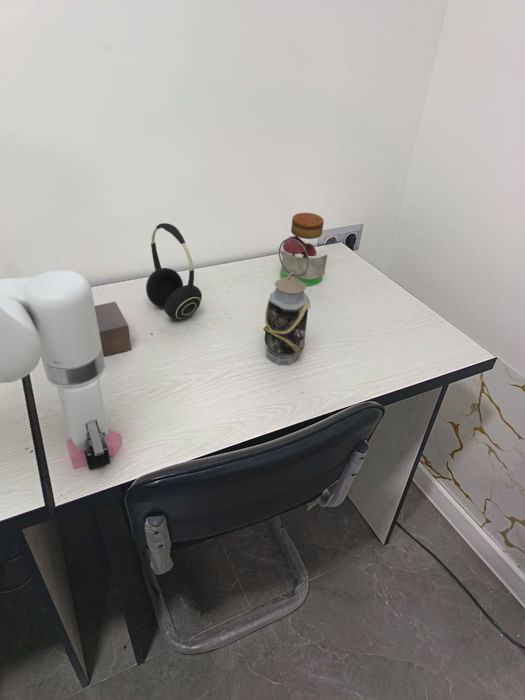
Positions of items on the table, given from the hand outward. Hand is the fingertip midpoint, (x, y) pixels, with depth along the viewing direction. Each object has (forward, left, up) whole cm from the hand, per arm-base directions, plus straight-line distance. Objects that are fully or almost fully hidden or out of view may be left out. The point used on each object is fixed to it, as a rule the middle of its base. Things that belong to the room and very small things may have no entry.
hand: (94, 450), depth 76 cm
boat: (0, 0, 0) cm, 0 cm away
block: (+8, +27, 0) cm, 28 cm away
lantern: (+39, +9, -1) cm, 40 cm away
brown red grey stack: (+59, +35, -1) cm, 69 cm away
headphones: (+25, +32, -1) cm, 41 cm away
